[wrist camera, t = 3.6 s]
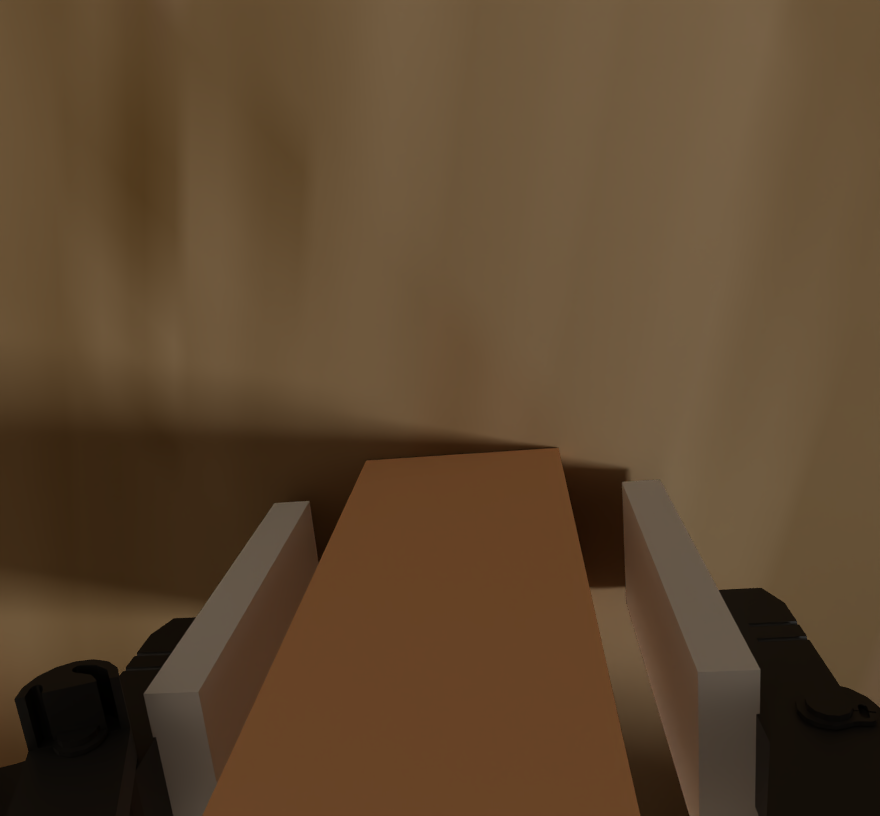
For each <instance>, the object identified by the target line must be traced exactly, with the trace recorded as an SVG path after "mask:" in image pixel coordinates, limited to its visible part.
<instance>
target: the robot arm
mask: <svg viewBox="0 0 880 816" xmlns="http://www.w3.org/2000/svg"><path fill="white" fill-rule="evenodd" d="M622 501H623V529H624V557H625V586H626V604H627V607H628V610H629V614H630V617H631V621H632V624H633V627H634V631H635V634H636V637H637V641H638V644H639V648H640V651H641V654H642V658H643V661H644V664H645V668H646V671H647V674H648V678H649V681H650V685H651V688H652V691H653V695H654V698H655V701H656V705H657V708H658V711H659V715H660V718H661V722H662V725H663V728H664V732H665V735H666V738H667V742H668V745H669V749H670V752H671V755H672V759H673V762H674V765H675V769H676V772H677V775H678V779H679V782H680V786H681V789H682V792H683V796H684V799H685V802H686V806H687V809H688V812H689V816H758V815H759V816H880V708H879V707H878V706H877V705H876V704H875V703H874V702H872V701H871V700H870V699H869V698H868V697H866V696H864V695H862V694H860V693H858V692H855V691H853V690H851V689H849V688H846V687H842V686H840V685H839V684H838V682H837V681H836V679H835V678H834V676H833V675H832V673H831V672H830V670H829V669H828V667H827V666H826V664H825V663H824V661H823V660H822V658H821V657H820V655H819V654H818V652H817V651H816V649H815V648H814V646H813V645H812V643H811V642H810V640H807V636H806V634H805V633H804V631H803V630H802V628H801V627H800V625H797V621H796V619H795V618H794V616H793V615H792V613H791V612H790V610H789V609H788V607H787V606H786V604H785V603H784V602H782V601H781V600H779V599H778V598H776V597H775V596H773V595H771V594H770V593H768V592H767V591H765V590H764V589H762V588H749V589H729V590H718V588H717V587H716V585H715V583H714V581H713V579H712V577H711V575H710V573H709V571H708V569H707V568H706V566H705V564H704V562H703V560H702V558H701V556H700V554H699V552H698V551H697V549H696V547H695V545H694V543H693V541H692V539H691V537H690V535H689V534H688V532H687V530H686V528H685V526H684V524H683V522H682V520H681V518H680V516H679V515H678V513H677V511H676V509H675V507H674V505H673V503H672V501H671V499H670V498H669V496H668V494H667V492H666V490H665V488H664V486H663V484H662V482H661V481H660V480H643V481H627V482H622ZM318 564H319V562H318V555H317V548H316V541H315V534H314V528H313V521H312V514H311V507H310V501H300V502H284V503H274V504H273V506H272V507H271V509H270V510H269V512H268V513H267V515H266V516H265V517H264V519H263V520H262V522H261V523H260V525H259V526H258V528H257V529H256V531H255V532H254V534H253V535H252V536H251V538H250V539H249V541H248V542H247V544H246V545H245V547H244V548H243V550H242V551H241V552H240V554H239V555H238V557H237V558H236V560H235V561H234V563H233V564H232V566H231V567H230V569H229V570H228V571H227V573H226V574H225V576H224V577H223V579H222V580H221V582H220V583H219V585H218V586H217V588H216V589H215V590H214V592H213V593H212V595H211V596H210V598H209V599H208V601H207V602H206V604H205V605H204V606H203V608H202V609H201V611H200V612H199V614H198V615H197V617H194V618H174V619H172V620H171V621H170V622H168V623H167V624H165V625H164V626H162V627H161V628H160V629H158V630H157V631H155V632H154V633H153V634H151V635H150V636H149V638H148V639H147V640H146V642H145V643H144V644H143V646H142V647H141V648H140V650H139V651H138V652H137V656H134V657H133V659H132V660H131V661H130V663H129V664H128V665H127V667H126V671H123V672H122V673H121V675H120V676H119V673H118V669H117V667H116V666H115V665H113V664H111V663H110V662H108V661H102V660H94V659H93V660H85V661H76V662H72V663H69V664H66V665H62V666H59V667H56V668H54V669H52V670H50V671H48V672H46V673H44V674H42V675H40V676H38V677H36V678H35V679H34V680H32V681H31V682H30V683H28V684H27V685H26V686H24V687H23V688H22V689H21V691H20V692H19V694H18V695H17V696H16V698H15V703H16V706H17V710H18V714H19V718H20V721H21V725H22V729H23V732H24V736H25V740H26V743H27V747H28V751H29V752H28V755H27V758H26V761H24V762H21V763H17V764H14V765H10V766H6V767H2V768H0V816H202V815H203V813H204V811H205V809H206V806H207V804H208V802H209V800H210V798H211V796H212V793H213V791H214V789H215V787H216V785H217V783H218V780H219V778H220V776H221V774H222V772H223V770H224V767H225V765H226V763H227V761H228V759H229V757H230V754H231V752H232V750H233V748H234V746H235V743H236V741H237V739H238V737H239V735H240V733H241V730H242V728H243V726H244V724H245V722H246V720H247V717H248V715H249V713H250V711H251V709H252V707H253V704H254V702H255V700H256V698H257V696H258V694H259V691H260V689H261V687H262V685H263V683H264V681H265V678H266V676H267V674H268V672H269V670H270V668H271V665H272V663H273V661H274V659H275V657H276V655H277V652H278V650H279V648H280V646H281V644H282V642H283V639H284V637H285V635H286V633H287V631H288V629H289V626H290V624H291V622H292V620H293V618H294V616H295V613H296V611H297V609H298V607H299V605H300V603H301V600H302V598H303V596H304V594H305V592H306V590H307V587H308V585H309V583H310V581H311V579H312V577H313V574H314V572H315V570H316V568H317V566H318Z"/></svg>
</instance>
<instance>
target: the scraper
mask: <svg viewBox="0 0 880 816" xmlns="http://www.w3.org/2000/svg"><path fill="white" fill-rule="evenodd" d="M202 816H640V812H639V807H638V803H637V798H636V794H635V789H634V785H633V780H632V776H631V771H630V767H629V762H628V758H627V753H626V749H625V745H624V740H623V736H622V731H621V727H620V722H619V718H618V713H617V709H616V704H615V700H614V695H613V691H612V686H611V682H610V677H609V673H608V668H607V664H606V659H605V655H604V650H603V646H602V641H601V637H600V632H599V628H598V623H597V619H596V614H595V610H594V605H593V601H592V596H591V592H590V587H589V583H588V579H587V574H586V570H585V565H584V561H583V556H582V552H581V547H580V543H579V538H578V534H577V529H576V525H575V520H574V516H573V511H572V507H571V502H570V498H569V493H568V489H567V484H566V480H565V475H564V471H563V466H562V462H561V457H560V453H559V448H547V449H532V450H517V451H502V452H487V453H472V454H456V455H441V456H426V457H411V458H396V459H381V460H366V462H365V464H364V466H363V468H362V470H361V473H360V475H359V477H358V479H357V481H356V483H355V486H354V488H353V490H352V492H351V494H350V496H349V499H348V501H347V503H346V505H345V507H344V509H343V512H342V514H341V516H340V518H339V520H338V522H337V525H336V527H335V529H334V531H333V533H332V535H331V538H330V540H329V542H328V544H327V546H326V548H325V551H324V553H323V555H322V557H321V559H320V561H319V564H318V566H317V568H316V570H315V572H314V574H313V577H312V579H311V581H310V583H309V585H308V587H307V590H306V592H305V594H304V596H303V598H302V600H301V603H300V605H299V607H298V609H297V611H296V613H295V616H294V618H293V620H292V622H291V624H290V626H289V629H288V631H287V633H286V635H285V637H284V639H283V642H282V644H281V646H280V648H279V650H278V652H277V655H276V657H275V659H274V661H273V663H272V665H271V668H270V670H269V672H268V674H267V676H266V678H265V681H264V683H263V685H262V687H261V689H260V691H259V694H258V696H257V698H256V700H255V702H254V704H253V707H252V709H251V711H250V713H249V715H248V717H247V720H246V722H245V724H244V726H243V728H242V730H241V733H240V735H239V737H238V739H237V741H236V743H235V746H234V748H233V750H232V752H231V754H230V757H229V759H228V761H227V763H226V765H225V767H224V770H223V772H222V774H221V776H220V778H219V780H218V783H217V785H216V787H215V789H214V791H213V793H212V796H211V798H210V800H209V802H208V804H207V806H206V809H205V811H204V813H203V815H202Z"/></svg>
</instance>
